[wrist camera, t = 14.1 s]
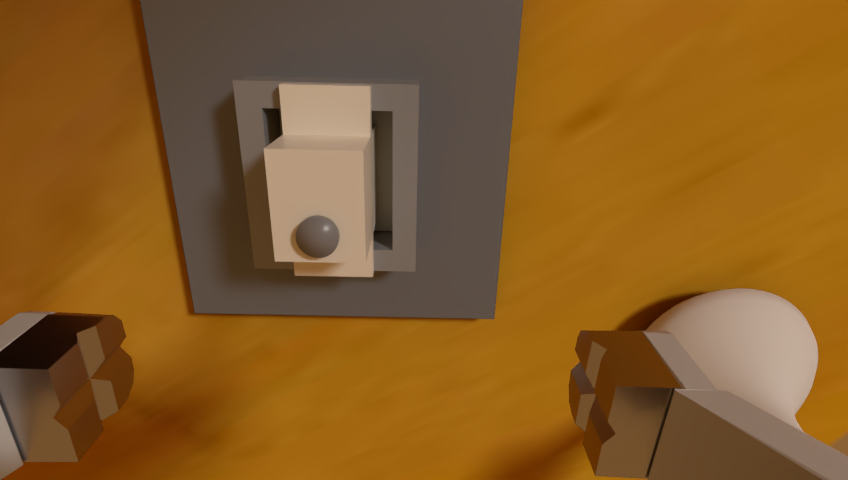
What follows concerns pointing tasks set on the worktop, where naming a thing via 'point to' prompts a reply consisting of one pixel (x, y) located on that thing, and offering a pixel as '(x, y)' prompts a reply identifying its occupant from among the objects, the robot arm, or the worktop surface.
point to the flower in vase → (748, 346)
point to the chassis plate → (395, 145)
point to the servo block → (324, 180)
